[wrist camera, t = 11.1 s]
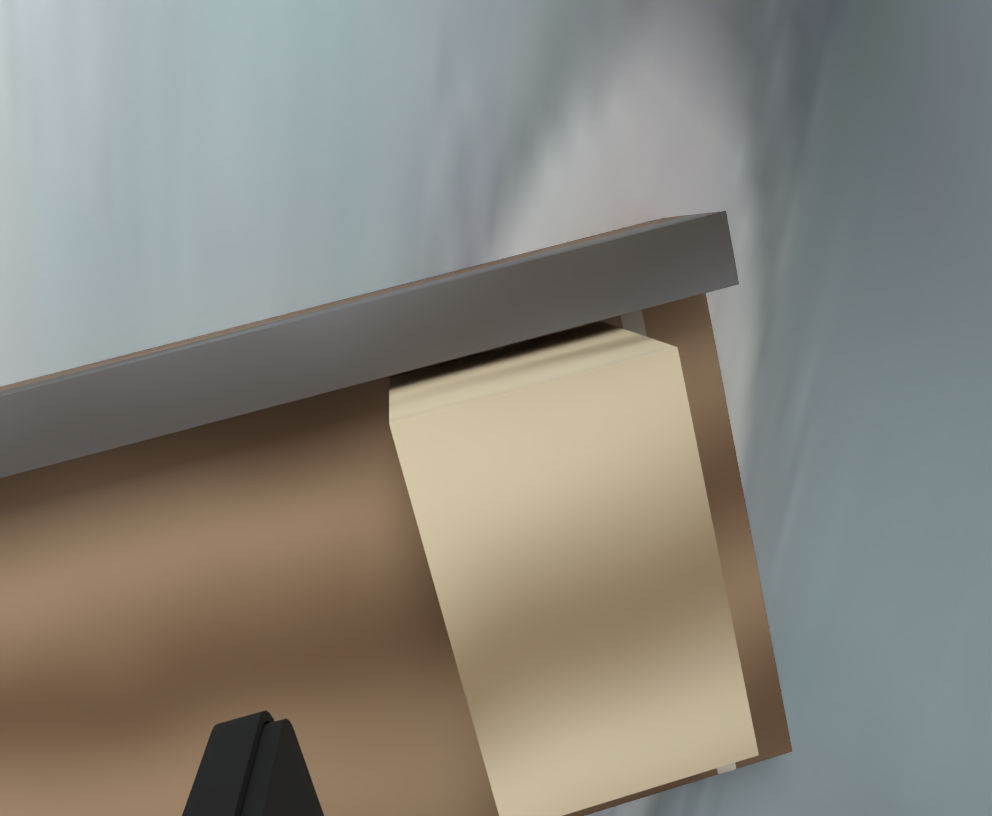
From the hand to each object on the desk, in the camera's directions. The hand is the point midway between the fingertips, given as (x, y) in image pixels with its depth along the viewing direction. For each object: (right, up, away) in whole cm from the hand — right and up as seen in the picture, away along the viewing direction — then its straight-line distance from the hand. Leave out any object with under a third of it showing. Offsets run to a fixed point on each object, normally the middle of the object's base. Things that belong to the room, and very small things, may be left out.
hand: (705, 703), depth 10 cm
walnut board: (-9, -2, +12) cm, 15 cm away
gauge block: (-1, +1, +10) cm, 10 cm away
